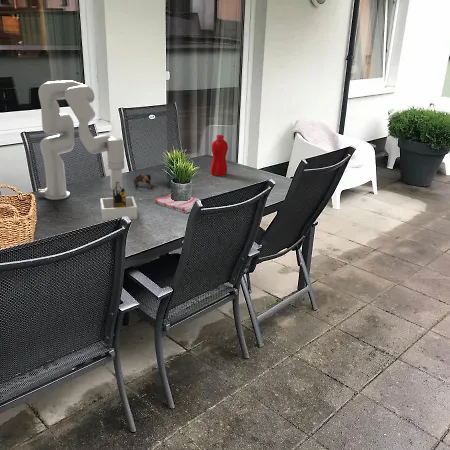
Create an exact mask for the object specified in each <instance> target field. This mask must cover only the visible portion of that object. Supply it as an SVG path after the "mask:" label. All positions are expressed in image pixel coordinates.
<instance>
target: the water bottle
mask: <svg viewBox="0 0 450 450" xmlns="http://www.w3.org/2000/svg"><path fill="white" fill-rule="evenodd" d="M224 136H225V135H223V134H217V135H216V140H214V141H213V142H212V144H211V153H212V160H211V161H212V162H211V166H210V174H211V175H212V176H216V177H223V176H225V175H227V173H228V166H227V160H226V158H227V153H228V150H229V147H228V142H227V141H226V140H224Z"/></svg>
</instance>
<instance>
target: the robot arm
mask: <svg viewBox="0 0 450 450" xmlns="http://www.w3.org/2000/svg"><path fill="white" fill-rule="evenodd" d="M38 98H39V102H40V107H41V108H40V109H41V127H42V131H43V132H44V134H46V135H50V136H46V137H44V138H43V139H42V140H41V141H40V142H39V148H40V152H41V154H42V158H43V164H44V165H43V166H44V173H45V183H46V187H45V188H38V190H37V191H38V194H39V193H40V195H43V194H44V198H46V199H47V200H53V201H55V200H64V199H67V198H69V197H70V195H71V192H70V191H68V190H67V181H66V172H65V163H64V160H63V158H61V156H60V155H61V154H65V153H69V152H72V150H73V149H74V147H75V123H74V121H73V118H72V116H71V115H70V114H69V113H67V112H66V113H65V112H60V111H61V109H60V108H61V107H60V105H59V103H58V101H59V100H60V101H61V100H65V101H66V103H67V105H68V106H69V107H70V109H71V111H72V112H73V115H74V116H75V117H76V119H77V120H78V126H77V127H78V129H77V130H78V137H79V140H80V141H81V143H82V145H83V146H84V147H85V149H86V151H87V152H89V153H90V154H93V155H95V154H96V155H97V154H101V153H104V152H107V153H106V155H107V168H108V169H109V177H110V178H109V179H110V181H109V183H110V185H109V186H110V189H111V190H112V195H113V194H114V193H113V192H114V190H115V203H122V195H121V190H122V188H123V170H124V169H125V151H124V149H125V147H124V145H125V143H124V140H123V139H122V138H120V137H115V136H113V135H110V134H103V135H102V134H101V135H97V136H93V134H92V133H91V131H90V129H89V123H90V122H91V121H93V119H95V117H96V111H95V110H94V109H93V107H92V106H91V103H93V102H94V100H95V92H94V91H93V89H92V88H91V87H90V86H89V85H87V84H83V83H82V82H79V81H78V82H77V81H74V80H55V81H47V82H44V83H42V84H41V85H40V87H39V88H38ZM116 188H117V189H116Z"/></svg>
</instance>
